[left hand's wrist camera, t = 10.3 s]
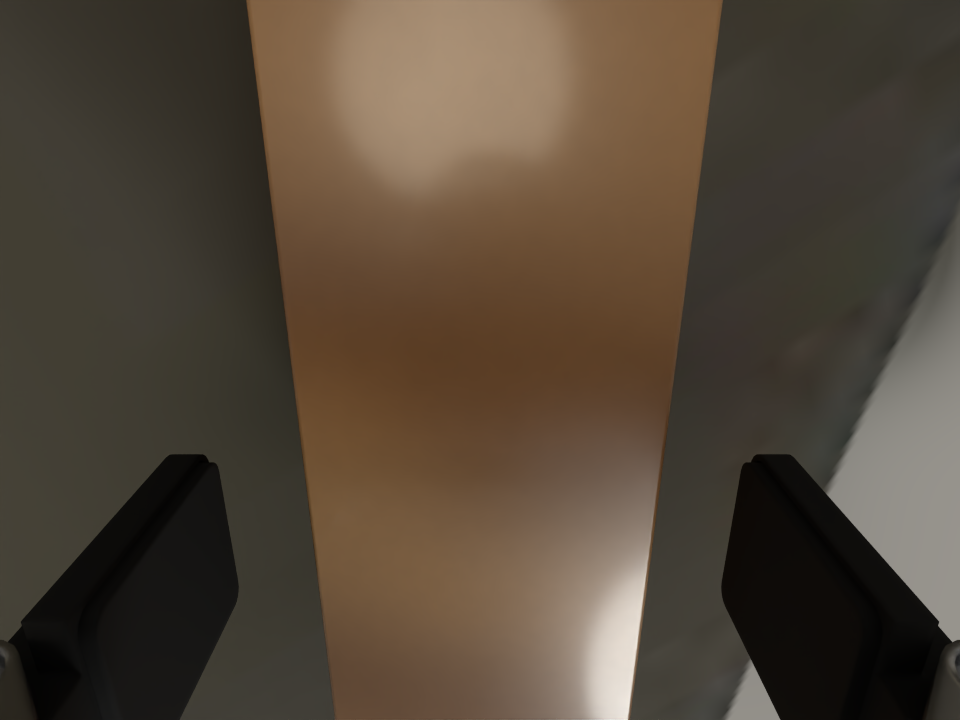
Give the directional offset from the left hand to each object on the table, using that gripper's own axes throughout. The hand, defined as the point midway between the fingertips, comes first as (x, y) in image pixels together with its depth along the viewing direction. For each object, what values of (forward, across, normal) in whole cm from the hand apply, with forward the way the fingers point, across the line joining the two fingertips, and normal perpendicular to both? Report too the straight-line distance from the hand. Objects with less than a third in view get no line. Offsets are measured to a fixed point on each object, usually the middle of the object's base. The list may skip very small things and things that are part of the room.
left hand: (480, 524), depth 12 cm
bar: (+7, 0, -27) cm, 27 cm away
